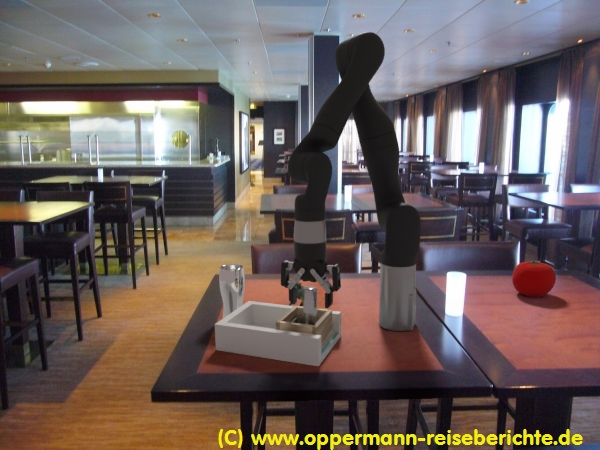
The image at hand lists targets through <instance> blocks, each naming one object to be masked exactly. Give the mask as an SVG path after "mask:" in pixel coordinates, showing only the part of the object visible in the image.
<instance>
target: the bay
mask: <svg viewBox="0 0 600 450" xmlns="http://www.w3.org/2000/svg"><path fill="white" fill-rule="evenodd" d="M288 305H289V304H288ZM288 305H287V304H278V303H271V302H264V301H263V302H262V301H261V302H260V301H253V300H247V301H246V302H245V303H243V304H242V306H240V307H239V308H238V309H236V310H235V311H233V312H232V313H230V314H229V315H227V316H226V317H225V318H223V317H222V319H220V320H219V321H217V322H216V323H214V337H215V338H214V339H215V340H214V341H215V351H220V352H227V353H231V354H233V353H234V354H239V355H245V356H250V357H251V356H252V357H258V358H264V359H271V360H276V361H282V362H290V363H294V364H300V365H308V366H314V367H319V366H320V365H321V364H322V362H323V361H324V360H325V358H326V357H327V356H328V355H329V353H330V352H331V350H332V349H333V348H334V347H335V345H336V344H337V343H338V341H339V340H340V339H341V337H342V311H337V310H332V334H331V335H330V336H329V338H328V339H327V340H326V341H325V343H324V344H323V345H322V346H321V335H315V334H308V333H300V332H293V331H286V330H279V329H276V321H278V320H279V319H280V318H281V317H282V316H283V315H284V314H286V313H287V312H288V311H289V310H290V309H291V308H292V307H294V306H295V305H291V306H288Z"/></svg>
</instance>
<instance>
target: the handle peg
mask: <svg viewBox="0 0 600 450" xmlns="http://www.w3.org/2000/svg"><path fill="white" fill-rule="evenodd" d="M317 308H318V287H316V286H312V285H310V286H309V285H307V286H304V288H303V324H308V325H315V323H316V322H317V321H318V319H317Z"/></svg>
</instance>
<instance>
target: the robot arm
mask: <svg viewBox="0 0 600 450" xmlns="http://www.w3.org/2000/svg"><path fill="white" fill-rule="evenodd" d="M385 53H386V48H385V43H384V41H383V40H382V38H381V37H380V36H379V34H377V33H375V32H372V31H364V32H361V33H358V34H356V35H353V36H352V37H350V38H346V39H345V40H342V41H341V42H340V43H339V44H338V45H337V47H336V50H335V56H334V57H335V65H336V69H337V71H338V75H339V77H340V82H339V83H338V85H337V86H336V87H335V88H334V90H333V91H332V92H331V93H330V95H329V96H328V97H327V98H326V100H325V101H324V102H323V103H322V105H321V106H320V109H319V110H318V112H317V114H316V116H315V118H314V120H313V123H312V125H311V127H310V129H309V131H308V132H307V134H306V135H305V136H304V137H303V138H302V140H301V141H300V142H299V144H297V146H296V147H295V148H294V150H293V151H292V153H291V154H290V157H289V159H288V162H287V173H288V176H289V177H290V179H291V180H293V181H294V182H298V183H304V184H307V187H306V188H305V189H306V190H305V192H304V193H300V194H298V195H296V197H295V199H294V227H293V237H292V238H293V258H294V261H290V259H286V260H284V261H282V262H281V268H280V269H281V270H280V286H281V287H284V286H285V287H287V288H286V289H288V300H289V303H290V302H291V304H292V305H296V304H297V302H298V298H297V288H296V287H295V286H296V285H297V283H300V281H302V282H311V283H318V284H319V286H321V288H322V289H323V290H324V292H325V293H324V309H329V308H330V307H331V306H332V305H333V303H334V292H335V293H337V292H338V291H339V290H340V289H341V287H342V283H341V279H342V278H341V265H340V264H339V263H335V264H328V262H327V225H326V201H327V196H328V192H329V189H330V186H331V181H332V176H333V164H332V161H331V159H330V157H329V156H328V155H327V154H326V152H327V151H331V150H333V149H334V148H335V147H336V146H337V144H338V142H339V140H340V138H341V136H342V134H343V131H344V130H345V127H346V125H347V122H348V120H349V118H350V117H351V114H352V117H353V121H354V124H355V127H356V132H357V138H358V141H359V145H360V149H361V150H360V151H361V153H362V156H363V158H364V164H365V167H366V170H367V174H368V177H369V180H370V183H371V187H372V192H373V198H374V203H375V205H374V206H375V213H376V219H377V222H378V226H379V228H381V230H382V231H383V232H384V233H385V240H384V249H383V250H382V251H381V252H380V257H379V258H380V262H379V263H380V264H379V265H380V266H379V311H378V312H379V313H378V315H379V316H378V324H379V326H380V327H381V328H383V329H385V330H388V331H392V332H393V331H394V332H404V331H413V330H414V328H415V325H416V320H417V319H416V314H417V310H416V309H417V289H416V277H417V275H416V272H417V270H416V269H417V259H418V258H417V257H418V256H419V252H420V246H421V245H420V244H421V234H422V233H421V231H422V221H421V214H420V212H419V210H417V208H416V207H415V206H413V205H411V204H409V203H406V200H405V197H404V195H403V192H402V188H401V183H400V179H399V176H400V175H399V174H400V173H399V170H400V169H399V168H400V147H399V141H398V138H397V134H396V133H397V132H396V129H395V125H394V122H393V120H392V119H391V117H390V116H389V114H388V113H387V112H386V111H385V109H384V108H383V106H381V104H380V102H378V101H377V100H376V98H375V96H374V94H373V91H372V89H371V87H370V86H371V85H370V82H371V81H372V79H373V78H374V76H375V75H376V73H378V70H379V69H380V67H381V66H382V64H383V63H384V62H383V61H384V59H385V55H386V54H385ZM292 269H293V270H294V271H295V273H296V274H295V275H294V277H293V278H292V279H291V281H289V279H290V271H291V270H292ZM326 272H329V274H330V275H331V278H332V283H331V282H330V279H329V277H328V276H327V275H326ZM285 287H284V288H285Z"/></svg>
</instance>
